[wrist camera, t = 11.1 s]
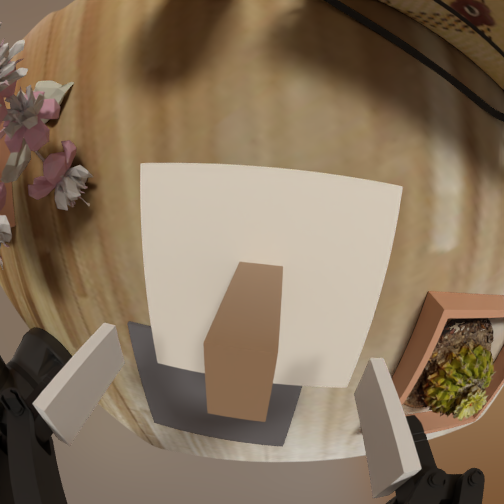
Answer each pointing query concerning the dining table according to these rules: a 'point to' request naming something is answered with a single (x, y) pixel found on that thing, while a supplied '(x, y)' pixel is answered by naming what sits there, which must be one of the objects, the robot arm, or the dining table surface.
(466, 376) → the cactus
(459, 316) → the cactus tray
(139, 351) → the rubber mat
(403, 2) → the clutch purse
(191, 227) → the board
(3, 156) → the flower tray
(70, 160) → the flower
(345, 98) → the dining table surface
